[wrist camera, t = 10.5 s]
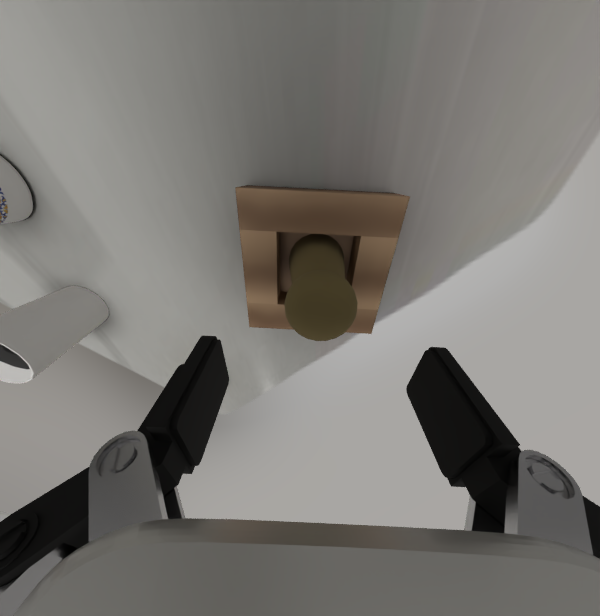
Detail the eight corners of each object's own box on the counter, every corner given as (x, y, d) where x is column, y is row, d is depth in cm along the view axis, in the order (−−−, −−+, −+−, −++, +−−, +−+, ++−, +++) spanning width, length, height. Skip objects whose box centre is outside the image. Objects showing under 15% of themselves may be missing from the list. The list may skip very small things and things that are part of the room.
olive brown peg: (353, 271, 24) (381, 334, 14) (305, 294, 26) (304, 364, 16) (329, 221, 21) (346, 259, 12) (277, 251, 23) (257, 304, 14)
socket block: (247, 185, 21) (235, 187, 17) (393, 192, 21) (409, 196, 17) (256, 308, 28) (249, 326, 25) (363, 314, 28) (371, 333, 25)
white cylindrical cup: (56, 273, 26) (-64, 320, 18) (114, 297, 28) (30, 351, 19) (58, 312, 29) (-43, 367, 21) (110, 332, 31) (36, 391, 23)
